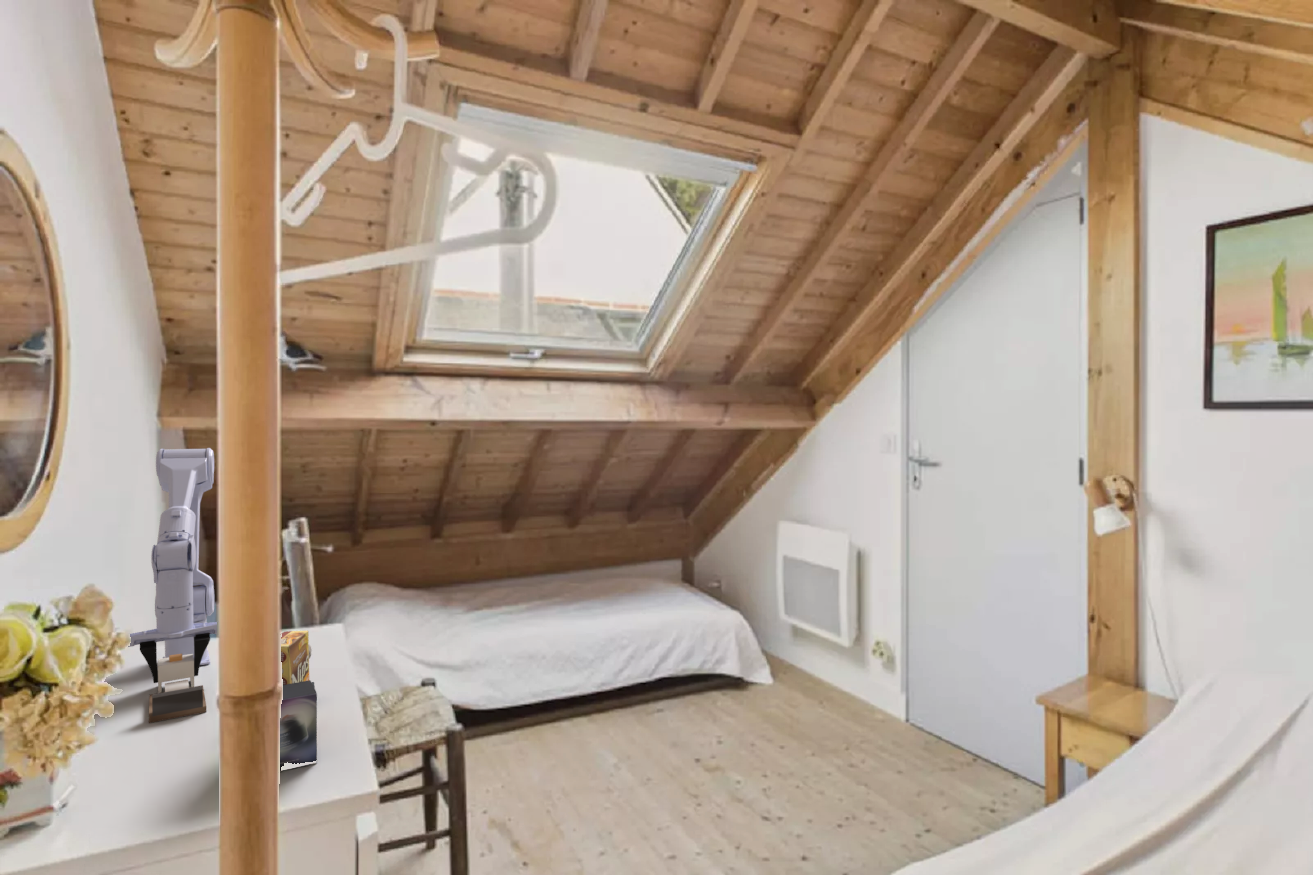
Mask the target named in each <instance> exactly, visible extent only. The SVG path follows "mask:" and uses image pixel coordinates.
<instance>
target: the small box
mask: <svg viewBox="0 0 1313 875" xmlns="http://www.w3.org/2000/svg"><path fill="white" fill-rule="evenodd" d="M312 682H313V681H312V680H310V679H309V681H303V682H298V683H292V684H286V685H283V700H282V704H281V718H280V771H281V767H282V766H284V763H287V762H288V763H292V764H294V763H295V764H297V763H299V764H300V763H305V762H313V761H316V760H317V761H318V757H317V756H318V749H317V748H318V744H317V743H318V742H317V741H318V738H317V737H318V732H317V730H318V727H317V726H318V724H317V722H318V721H317V719H318V718H317V717H318V716H317V715H318V713H317V712H318V711H317V710H318V707H317V706H318V702H317V701H318V693H317V691H316V688H314V686H315V685H314V686H313V684H312ZM281 772H282V771H281Z"/></svg>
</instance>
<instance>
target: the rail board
mask: <svg viewBox="0 0 1313 875" xmlns="http://www.w3.org/2000/svg"><path fill="white" fill-rule="evenodd" d="M189 683H190V682H189V679H185V680H184V679H181V680H179V681H178V680H176V681H170V682H164V691H162V692H161V693H158V692H156V693H151V694H149V696H148V697H149V699H148V724H152V723H157V722H162V721H167V720H172V719H178V718H182V717H188V716H193V715H198V714H203V713H207V702H206V696H205V689H204V685H203V684H201V685H196V686H195V685H194V687H191V686H190V684H189Z"/></svg>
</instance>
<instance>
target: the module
mask: <svg viewBox="0 0 1313 875" xmlns="http://www.w3.org/2000/svg"><path fill="white" fill-rule="evenodd" d="M157 668H158V683H157V688H158V689H157V690H158V692H157V693H161V692H163V691H162V687H163V686H162V684H163V683H168V682H173V681H178V680H184V679H189V680H190V682H189V683H190V687H195V676H194V658H193V654H187V655H182V654H176V655H169V657H168V658H163V657H162V658H157Z"/></svg>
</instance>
